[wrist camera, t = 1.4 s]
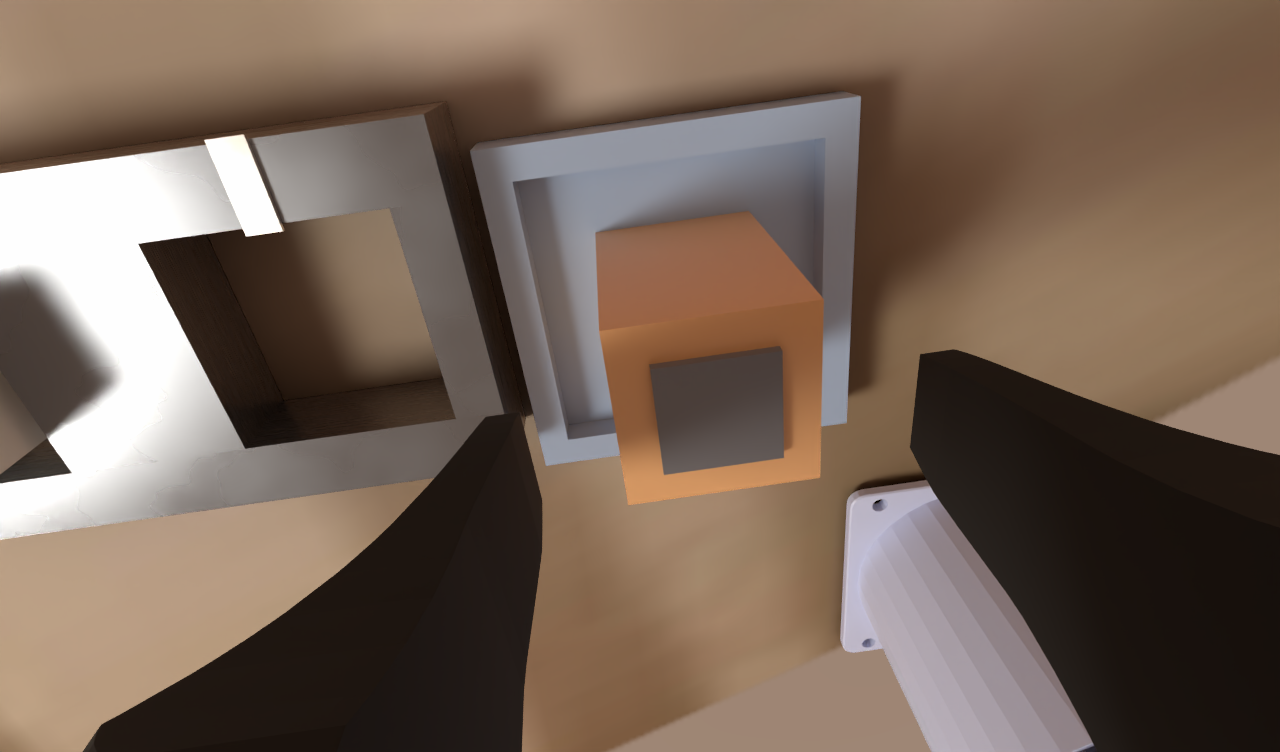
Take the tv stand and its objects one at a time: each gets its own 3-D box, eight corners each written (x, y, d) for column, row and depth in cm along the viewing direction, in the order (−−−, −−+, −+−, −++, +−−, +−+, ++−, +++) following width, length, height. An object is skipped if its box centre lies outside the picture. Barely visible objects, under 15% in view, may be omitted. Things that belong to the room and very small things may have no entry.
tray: (842, 90, 16) (860, 96, 15) (832, 401, 20) (846, 422, 19) (477, 142, 16) (469, 151, 15) (548, 442, 20) (545, 465, 19)
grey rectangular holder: (444, 96, 15) (421, 109, 13) (525, 417, 20) (518, 467, 17) (-316, 203, 15) (-469, 234, 13) (-61, 501, 19) (-143, 562, 17)
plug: (748, 210, 17) (827, 303, 11) (754, 347, 18) (823, 483, 13) (595, 232, 16) (599, 336, 11) (616, 367, 18) (628, 511, 13)
